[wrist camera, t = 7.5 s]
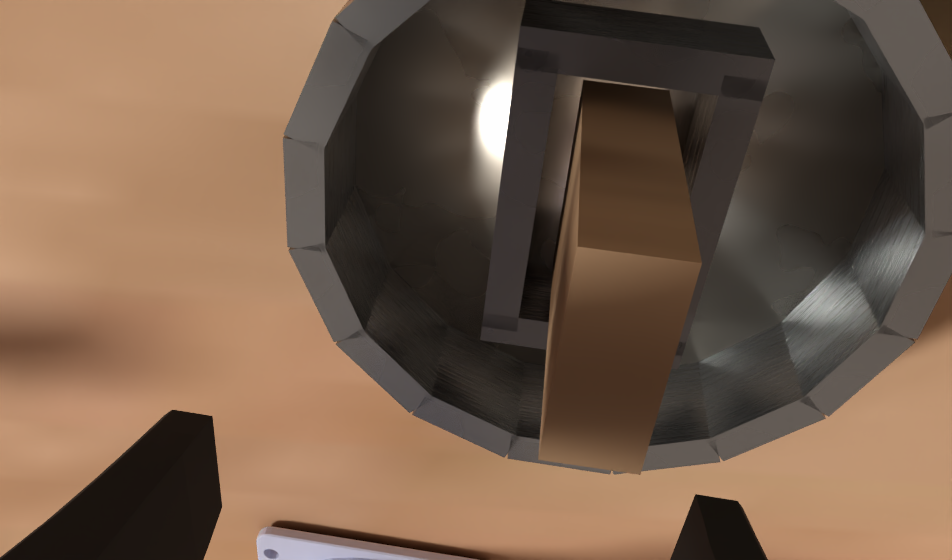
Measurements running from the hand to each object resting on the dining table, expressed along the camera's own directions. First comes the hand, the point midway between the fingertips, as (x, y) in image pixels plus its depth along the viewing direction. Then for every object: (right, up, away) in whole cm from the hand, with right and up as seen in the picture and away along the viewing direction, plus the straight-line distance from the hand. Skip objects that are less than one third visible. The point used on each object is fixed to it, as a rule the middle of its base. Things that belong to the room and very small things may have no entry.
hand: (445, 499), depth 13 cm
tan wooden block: (+3, +5, +6) cm, 9 cm away
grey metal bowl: (+4, +6, +7) cm, 10 cm away
